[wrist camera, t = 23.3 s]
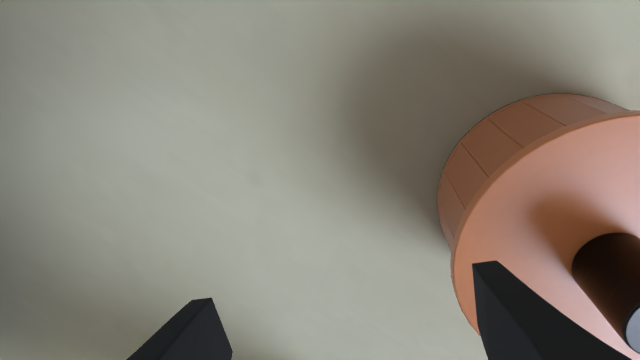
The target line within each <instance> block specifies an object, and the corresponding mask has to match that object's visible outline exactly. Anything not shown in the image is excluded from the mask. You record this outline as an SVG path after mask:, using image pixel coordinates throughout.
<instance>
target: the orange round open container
mask: <svg viewBox="0 0 640 360" xmlns="http://www.w3.org/2000/svg"><path fill="white" fill-rule="evenodd" d="M626 111H630V110H627V109H624V108H622V107H619V106H616V105H614V104H611V103H608V102H606V101H603V100H600V99H598V98H594V97H587V96H583V95H576V94H546V95H539V96H534V97H530V98H526V99H522V100H520V101H517V102H514V103H512V104H509V105H507V106H505V107H503V108H501V109H499V110H497V111H495V112H493V113H492V114H490V115H489V116H487V117H486V118H484V119H483V120H481V121H480V122H479V123H478V124H477V125H476V126H474V127H473V128H472V129H471V130H470V131H469V132H468V133H467V134H466V135H465V136H464V137H463V138H462V139H461V140H460V142H459V143H458V144H457V146H456V147H455V149H454V150H453V151H452V153H451V155H450V157H449V158H448V160H447V162H446V164H445V166H444V169H443V172H442V174H441V178H440V182H439V186H438V194H437V206H438V214H439V219H440V223H441V228H442V230H443V233H444V235H445V238H446V240H447V243H448V245H449V248H450V250H451V253H452V245H453V241H454V237H455V234H456V230H457V227H458V225H459V223H460V220H461V218H462V216H463V213H464V211H465V210H466V208H467V206H468V205H469V203H470V201H471V200H472V198H473V197H474V195H475V194H476V193H477V191H478V190H479V189H480V187H481V186H482V185H483V184H484V182H485V181H486V180H487V179H488V178H489V177H490V176H491V175H492V174H493V173H494V172H495V171H496V170H497V169H498V168H499V167H500V166H501V165H502V164H503V163H505V162H506V161H507V160H508V159H510V158H511V157H512V156H513V155H515V154H516V153H517V152H518V151H520V150H521V149H523V148H525V147H526V146H528V145H529V144H531V143H533V142H534V141H536V140H537V139H539V138H541V137H543V136H545V135H547V134H549V133H551V132H553V131H555V130H557V129H560V128H562V127H565V126H568V125H570V124H573V123H576V122H579V121H581V120H585V119H589V118H593V117H597V116H601V115H605V114H611V113H619V112H626Z"/></svg>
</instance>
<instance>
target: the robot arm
mask: <svg viewBox="0 0 640 360" xmlns="http://www.w3.org/2000/svg"><path fill="white" fill-rule="evenodd" d="M472 270H473V282H474V293H475V304H476V315H477V325H478V329H479V332H480V335H481V338H482V341H483V345H484V348H485V351H486V354H487V357H488V360H632V359H631V358H629V357H627V356H626V355H624V354H622V353H621V352H619V351H617V350H616V349H614V348H612V347H611V346H609V345H608V344H606V343H604V342H603V341H601V340H600V339H598V338H597V337H595V336H594V335H592V334H591V333H590V332H588V331H587V330H585V329H584V328H582V327H581V326H579V325H578V324H577V323H575V322H574V321H572V320H571V319H570V318H568V317H567V316H565V315H564V314H563V313H562V312H560V311H559V310H558V309H556V308H555V307H554V306H552V305H551V304H550V303H548V302H547V301H546V300H544V299H543V298H542V297H541V296H539V295H538V294H537V293H536V292H534V291H533V290H532V289H531V288H529V287H528V286H527V285H526V284H525V283H523V282H522V281H521V280H520V279H519V278H517V277H516V276H515V275H514V274H513V273H512V272H510V271H509V270H508V269H507V268H506V267H505V266H503V265H502V264H501V263H500V262H498V261H497V260H495V261H487V262H480V263H472ZM232 352H233V351H232V349H231V346H230V344H229V341H228V339H227V336H226V333H225V331H224V328H223V326H222V323H221V321H220V318H219V315H218V313H217V310H216V308H215V305H214V303H213V300H212V298H205V299H198V300H192V301H190V302H189V303H188V304H187V305H185V306H184V307H183V308H182V309H181V310H180V311H179V312H178V313H176V314H175V315H174V316H173V317H172V318H171V319H170V320H169V321H168V322H167V323H166V324H165V325H164V326H162V327H161V328H160V329H159V330H158V331H157V332H156V333H155V334H154V335H153V336H152V337H151V338H150V339H149V340H147V341H146V342H145V343H144V344H143V345H142V346H141V347H140V348H139V349H138V350H137V351H136V352H135V353H133V354H132V355H131V356H130V357H129V358H128V359H127V360H231V358H232Z"/></svg>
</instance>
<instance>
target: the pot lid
mask: <svg viewBox="0 0 640 360" xmlns="http://www.w3.org/2000/svg"><path fill="white" fill-rule="evenodd" d="M495 260H497V261H498V262H500V263H501V264H502V265H503V266H505V267H506V268H507V269H508V270H509V271H510V272H512V273H513V274H514V275H515V276H516V277H517V278H519V279H520V280H521V281H522V282H523V283H525V284H526V285H527V286H528V287H529V288H531V289H532V290H533V291H534V292H536V293H537V294H538V295H539V296H541V297H542V298H543V299H544V300H546V301H547V302H548V303H550V304H551V305H552V306H554V307H555V308H556V309H558V310H559V311H560V312H562V313H563V314H564V315H565V316H567V317H568V318H570V319H571V320H572V321H574V322H575V323H577V324H578V325H579V326H581V327H582V328H584V329H585V330H587V331H588V332H590V333H591V334H592V335H594V336H595V337H597V338H598V339H600V340H601V341H603V342H604V343H606V344H608V345H609V346H611V347H612V348H614V349H616V350H617V351H619V352H621V353H622V354H624V355H626V356H627V357H629V358H631V359H632V360H640V111H626V112H619V113H611V114H605V115H601V116H597V117H593V118H589V119H585V120H581V121H579V122H576V123H573V124H570V125H568V126H565V127H562V128H560V129H557V130H555V131H553V132H551V133H549V134H547V135H545V136H543V137H541V138H539V139H537V140H536V141H534V142H533V143H531V144H529V145H528V146H526V147H525V148H523V149H521V150H520V151H518V152H517V153H516V154H515V155H513V156H512V157H511V158H510V159H508V160H507V161H506V162H505V163H503V164H502V165H501V166H500V167H499V168H498V169H497V170H496V171H495V172H494V173H493V174H492V175H491V176H490V177H489V178H488V179H487V180H486V181H485V182H484V184H483V185H482V186H481V187H480V189H479V190H478V191H477V193H476V194H475V195H474V197H473V198H472V200H471V201H470V203H469V205H468V206H467V208H466V210H465V211H464V213H463V216H462V218H461V220H460V223H459V225H458V227H457V230H456V234H455V237H454V241H453V245H452V253H451V278H452V283H453V287H454V292H455V294H456V297H457V300H458V302H459V305H460V307H461V310H462V312H463V314H464V315H465V317H466V319H467V320H468V322H469V324H470V325H471V326H472V327H473V328H474V330H475V331H476V332H477V333H478V334H479V335H480V332H479V329H478V325H477V315H476V304H475V293H474V282H473V270H472V263H480V262H487V261H495ZM480 336H481V335H480Z"/></svg>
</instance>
